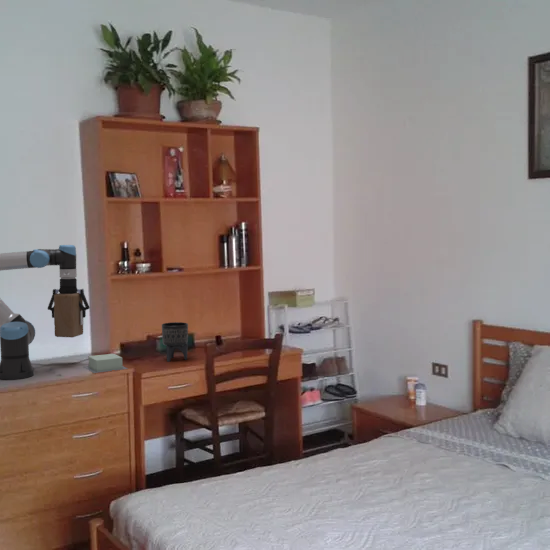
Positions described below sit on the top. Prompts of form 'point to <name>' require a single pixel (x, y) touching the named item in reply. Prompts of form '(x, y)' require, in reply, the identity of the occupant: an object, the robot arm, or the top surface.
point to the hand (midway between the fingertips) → (68, 324)
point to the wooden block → (67, 315)
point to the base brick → (105, 362)
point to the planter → (175, 338)
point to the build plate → (102, 371)
